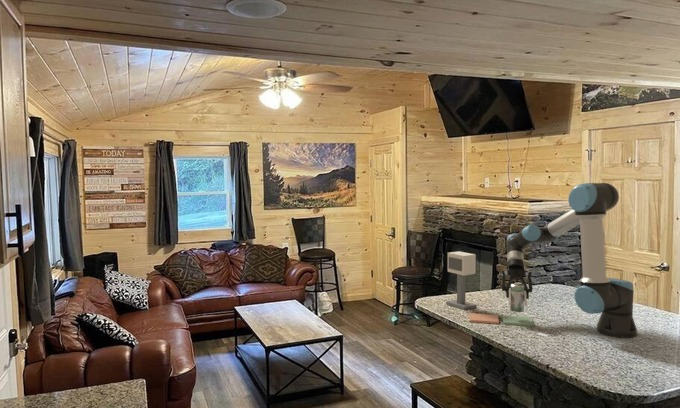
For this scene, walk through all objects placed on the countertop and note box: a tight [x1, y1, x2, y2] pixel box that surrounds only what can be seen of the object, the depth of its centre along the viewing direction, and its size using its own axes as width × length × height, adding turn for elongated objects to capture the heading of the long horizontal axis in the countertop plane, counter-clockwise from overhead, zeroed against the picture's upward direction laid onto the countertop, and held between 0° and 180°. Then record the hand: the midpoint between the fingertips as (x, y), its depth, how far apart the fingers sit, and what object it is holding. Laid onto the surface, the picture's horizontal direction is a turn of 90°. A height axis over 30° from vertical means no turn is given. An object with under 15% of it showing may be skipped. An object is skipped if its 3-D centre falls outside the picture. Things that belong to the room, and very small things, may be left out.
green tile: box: [501, 315, 535, 327], centre depth 231 cm, size 11×13×1 cm
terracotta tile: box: [469, 312, 500, 325], centre depth 235 cm, size 11×13×1 cm
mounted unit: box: [445, 251, 478, 311], centre depth 258 cm, size 9×13×28 cm
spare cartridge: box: [509, 282, 525, 313], centre depth 231 cm, size 6×6×12 cm
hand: (517, 304), depth 227 cm, fingers closed on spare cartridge, 6 cm apart
